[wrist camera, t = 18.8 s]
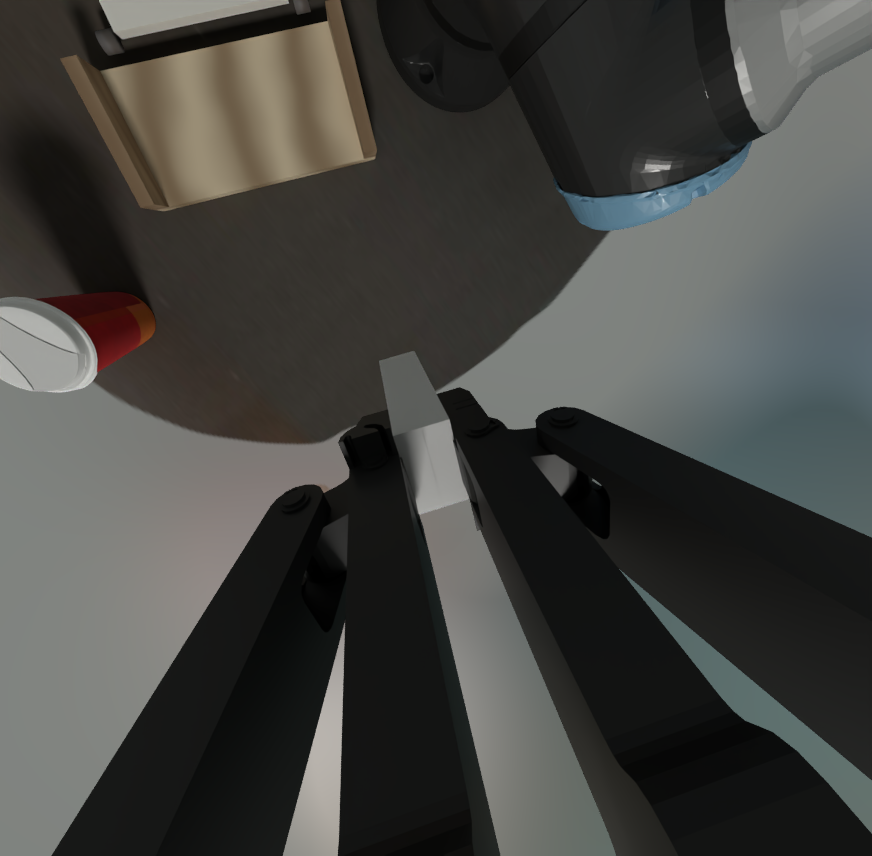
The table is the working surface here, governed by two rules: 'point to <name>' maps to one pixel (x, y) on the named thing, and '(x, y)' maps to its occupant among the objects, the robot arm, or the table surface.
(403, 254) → the table surface
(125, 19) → the tailgate
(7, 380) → the paper cup
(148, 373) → the table surface
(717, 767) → the robot arm
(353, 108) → the cart bed
